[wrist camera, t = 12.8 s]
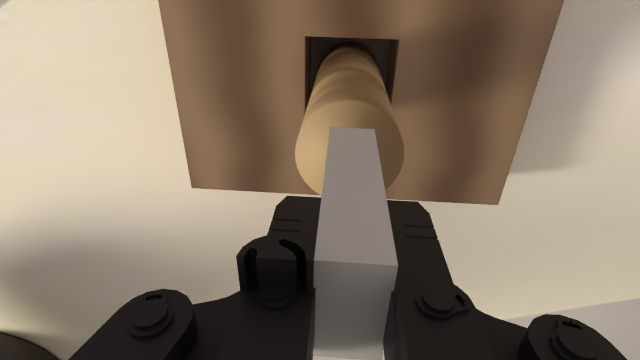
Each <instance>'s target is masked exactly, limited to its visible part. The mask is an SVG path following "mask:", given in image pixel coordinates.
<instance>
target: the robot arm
mask: <svg viewBox="0 0 640 360" xmlns="http://www.w3.org/2000/svg"><path fill="white" fill-rule="evenodd" d="M236 258H237V266H238V274H239V282H240V291H239V292H237V293H235V294H233V295H231V296H229V297H226V298H222V299H219V300H214V301H209V302H204V303H199V304H194V305H192V303H191V302H190V300H189V298H188V297H187V296H186V295H184V294H183V293H181V292H179V291H177V290H168V289H160V290H155V291H150V292H146V293H144V294H142V295H140V296H137V297H135V298H133V299H131V300H130V301H129V302H128V303H126V304H125V305H124V306H122V307H121V308H120V309H119V310H118V311H117V312H116V313H115V314H114V315H113V316H112V317H111V318H110V319H109V320H108V321H107V322H106V323H105V324H104V325H103V326H102V327H101V328H100V329H99V330H98V331H97V332H96V333H95V334H94V335H93V336H92V337H91V338H90V339H89V340H88V341H87V342H86V343H85V344H84V345H83V346H82V347H81V348H80V349H79V350H78V351H77V352H76V353H75V354H74V355H73V356H72V357H71V358H70V359H69V360H312V359H313V356H325V357H337V358H350V359H363V360H382V355H383V350H384V357H385V360H627V359H626V358H625V357H624V356H623V355H622V354H621V353H620V352H619V351H618V350H617V349H616V348H615V347H614V346H613V345H612V344H611V343H610V342H609V341H608V340H607V339H606V338H604V337H603V336H602V335H601V334H599V333H598V332H597V331H596V330H594V329H593V328H591V327H589V326H587V325H585V324H583V323H582V322H580V321H578V320H575V319H572V318H568V317H565V316H562V315H548V314H545V315H542V316H539V317H537V318H535V319H533V321H532V322H531V324H530V325H529V327H528V328H525V327H522V326H518V325H516V324H513V323H510V322H507V321H503V320H500V319H497V318H494V317H492V316H490V315H487V314H485V313H483V312H481V311H479V310H478V309H476V308H475V306H474V304H473V303H472V301H471V299H470V298H469V296H468V295H467V294H466V293H464V292H463V291H462V290H461V289H460V288H459V287H457V286H456V285H454V284H453V281H452V278H451V275H450V273H449V270H448V267H447V264H446V261H445V258H444V255H443V252H442V249H441V246H440V243H439V240H437V235H436V232H435V229H434V226H433V223H432V220H431V217H430V214H429V213H428V212H427V211H426V210H425V209H424V208H423V207H422V206H421V205H420V204H419V203H418V202H411V201H394V200H387V198H386V193H385V187H384V181H383V175H382V170H381V164H380V158H379V152H378V147H377V141H376V135H375V129H362V128H341V127H330V131H329V139H328V148H327V156H326V164H325V173H324V181H323V189H322V198H317V197H299V196H286V197H285V198H284V199H283V200H282V201H281V202H280V203H279V204H278V205H277V206H276V209H275V212H274V215H273V220H272V222H271V225H270V228H269V231H268V234H267V235H266V236H263V237H260V238H257V239H254V240H252V241H251V242H249V243H248V244H246V245H245V246H243V247H242V249H241V250H240V252H239V253H238V255H237V256H236ZM0 360H57V359H56V358H55V357H54V356H52V355H51V354H49V353H48V352H46V351H45V350H43V349H41V348H39V347H37V346H35V345H33V344H31V343H29V342H27V341H24V340H21V339H18V338H15V337H12V336H8V335H4V334H0Z"/></svg>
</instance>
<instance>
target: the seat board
mask: <svg viewBox="0 0 640 360" xmlns="http://www.w3.org/2000/svg"><path fill="white" fill-rule="evenodd" d="M158 1H159V7H160V12H161V18H162V24H163V29H164V35H165V40H166V46H167V52H168V57H169V63H170V68H171V74H172V80H173V85H174V91H175V96H176V102H177V108H178V113H179V119H180V124H181V130H182V136H183V141H184V147H185V152H186V158H187V163H188V169H189V175H190V180H191V186H192V188H202V189H220V190H238V191H256V192H274V193H292V194H309V195H320V194H318V193H316V192H315V191H314V190H313V189H311V188H310V187H309V186H308V185H307V184H306V183H305V181H304V180H303V178H302V177H301V175H300V173H299V171H298V168H297V165H296V161H295V147H296V142H297V138H298V135H299V132H300V129H301V126H302V122H303V119H304V116H305V113H306V109H307V106H308V103H309V100H310V82H311V36H312V37H341V38H369V39H391V43H390V52H389V61H388V70H387V78H386V87H385V89H386V92H387V95H388V98H389V101H390V104H391V107H392V110H393V113H394V116H395V119H396V122H397V125H398V128H399V131H400V134H401V137H402V140H403V144H404V161H403V166H402V168H401V171H400V173H399V175H398V177H397V178H396V180H395V181H394V182H393V183H392V185H391V186H390V187H389V188H387V189H386V190H385V193H386V198H387V199H399V200H417V201H435V202H453V203H470V204H488V205H498V203H499V200H500V197H501V194H502V191H503V188H504V185H505V182H506V179H507V176H508V172H509V169H510V166H511V163H512V160H513V157H514V154H515V151H516V148H517V145H518V141H519V138H520V135H521V132H522V129H523V126H524V123H525V120H526V117H527V113H528V110H529V107H530V104H531V101H532V98H533V95H534V92H535V89H536V86H537V82H538V79H539V76H540V73H541V70H542V67H543V64H544V61H545V58H546V55H547V51H548V48H549V45H550V42H551V39H552V36H553V33H554V30H555V27H556V23H557V20H558V17H559V14H560V11H561V8H562V5H563V2H564V0H158Z"/></svg>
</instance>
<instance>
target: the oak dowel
mask: <svg viewBox="0 0 640 360" xmlns="http://www.w3.org/2000/svg"><path fill="white" fill-rule="evenodd" d="M330 127H341V128H362V129H375V135H376V141H377V147H378V152H379V158H380V164H381V170H382V175H383V181H384V187H385V190H386V189H387V188H389V187H390V186H391V185H392V183H393V182H394V181H395V180H396V178H397V177H398V175H399V173H400V171H401V168H402V166H403V161H404V144H403V140H402V137H401V134H400V131H399V128H398V125H397V122H396V119H395V116H394V113H393V110H392V107H391V104H390V101H389V98H388V95H387V92H386V89H385V86H384V83H383V80H382V77H381V74H380V71H379V68H378V65H377V62H376V60H375V57H374V55H373V53H372V52H371V50H370V49H369V48H368V47H367V46H365V45H364V44H362V43H360V42H357V41H352V40H346V41H341V42H338V43H336V44H335V45H333V46H332V47H330V48H329V49H328V50H327V52H326V53H325V54H324V56H323V58H322V61H321V64H320V67H319V71H318V74H317V77H316V80H315V84H314V87H313V90H312V93H311V96H310V100H309V103H308V106H307V109H306V113H305V116H304V119H303V122H302V126H301V129H300V132H299V135H298V138H297V142H296V147H295V161H296V165H297V168H298V171H299V173H300V175H301V177H302V178H303V180H304V181H305V183H306V184H307V185H308V186H309V187H310V188H311V189H313V190H314V191H315V192H316V193H318V194H320V195H321V196H322V189H323V181H324V173H325V164H326V156H327V148H328V139H329V131H330Z"/></svg>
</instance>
